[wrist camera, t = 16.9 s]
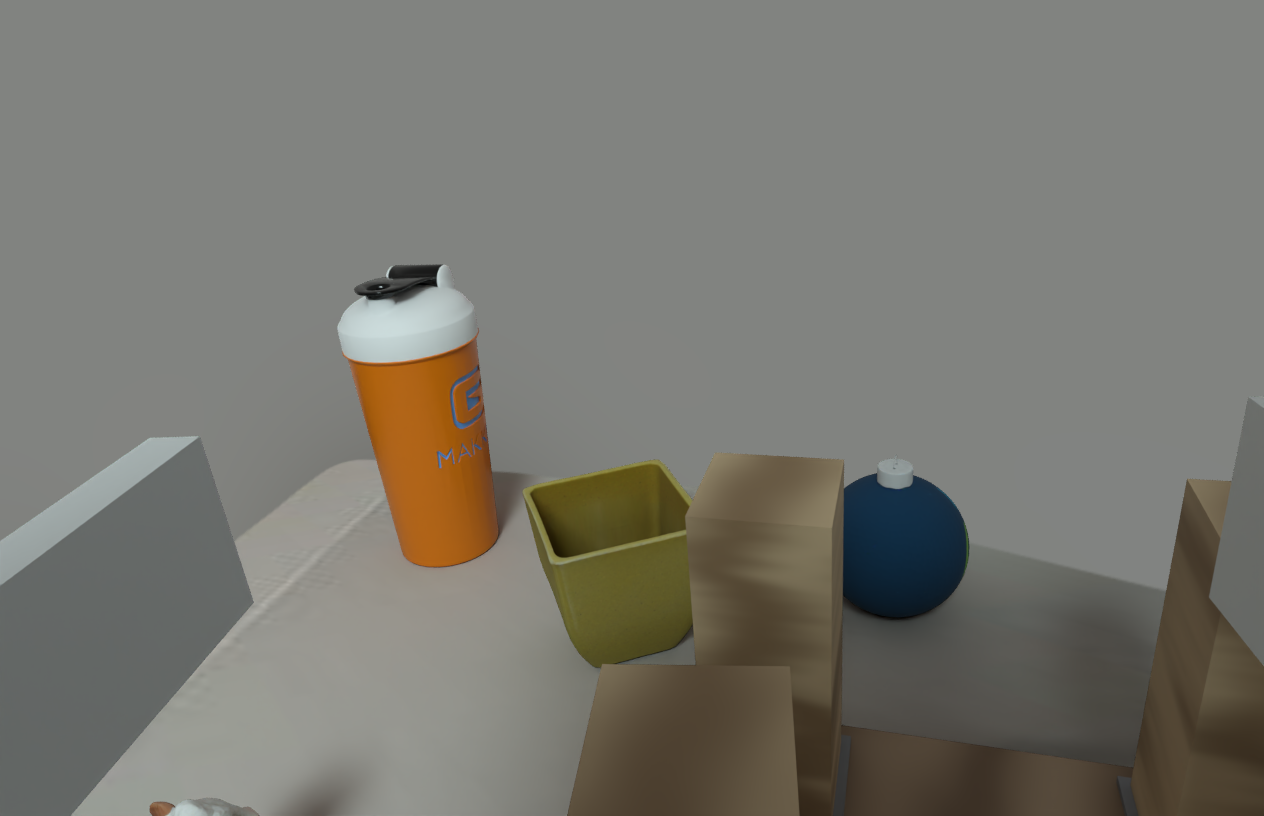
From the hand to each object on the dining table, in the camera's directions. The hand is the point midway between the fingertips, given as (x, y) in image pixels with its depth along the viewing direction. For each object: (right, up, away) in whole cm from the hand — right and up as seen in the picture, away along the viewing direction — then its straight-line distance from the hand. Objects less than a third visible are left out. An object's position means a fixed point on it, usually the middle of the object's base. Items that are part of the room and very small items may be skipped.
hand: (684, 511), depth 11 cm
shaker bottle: (-14, -9, +53) cm, 55 cm away
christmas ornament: (+15, -11, +41) cm, 45 cm away
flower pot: (-1, -12, +41) cm, 43 cm away
